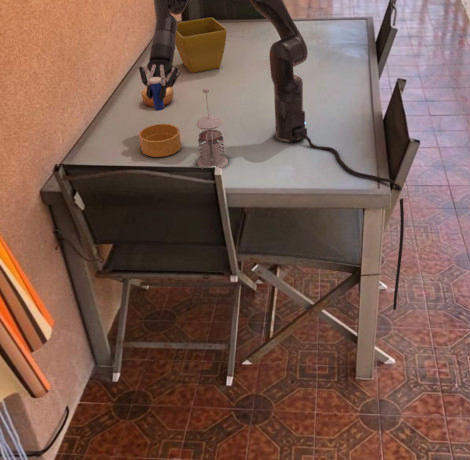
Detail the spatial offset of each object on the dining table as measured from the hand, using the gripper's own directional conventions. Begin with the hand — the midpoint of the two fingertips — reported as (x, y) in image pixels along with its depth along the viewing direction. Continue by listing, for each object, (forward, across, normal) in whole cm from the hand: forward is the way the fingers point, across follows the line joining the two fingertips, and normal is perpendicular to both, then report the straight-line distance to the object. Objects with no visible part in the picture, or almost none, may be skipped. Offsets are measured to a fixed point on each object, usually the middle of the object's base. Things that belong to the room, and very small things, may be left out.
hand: (155, 98), depth 208 cm
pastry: (-12, -14, +38) cm, 42 cm away
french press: (+19, +20, +7) cm, 28 cm away
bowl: (+13, 0, +12) cm, 18 cm away
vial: (+2, 0, +5) cm, 5 cm away
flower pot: (-39, -8, +65) cm, 76 cm away
